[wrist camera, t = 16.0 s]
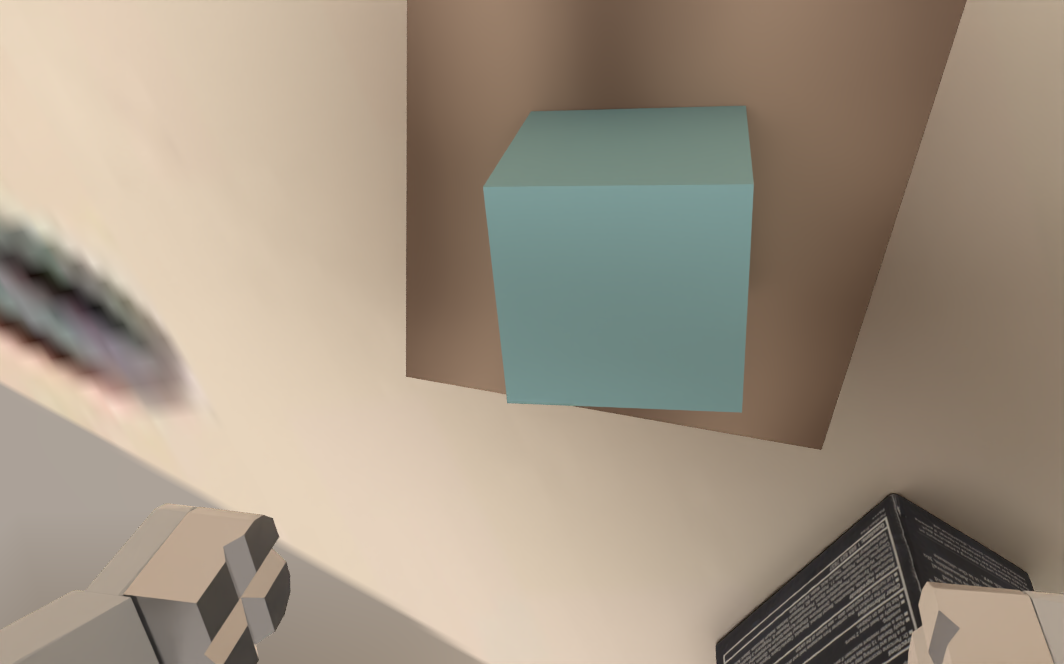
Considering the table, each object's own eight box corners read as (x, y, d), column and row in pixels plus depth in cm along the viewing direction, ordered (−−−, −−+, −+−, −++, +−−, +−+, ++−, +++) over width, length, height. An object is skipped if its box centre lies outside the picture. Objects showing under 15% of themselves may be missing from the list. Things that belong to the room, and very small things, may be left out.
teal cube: (745, 105, 20) (753, 183, 15) (737, 299, 22) (741, 412, 18) (531, 111, 21) (483, 187, 16) (545, 296, 23) (507, 402, 19)
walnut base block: (921, -39, 22) (968, -6, 18) (806, 355, 28) (821, 449, 24) (464, -88, 23) (407, -68, 19) (451, 297, 30) (406, 376, 25)
